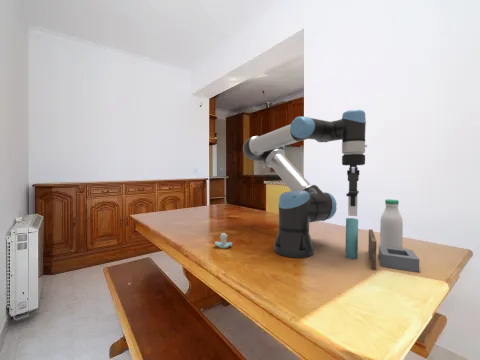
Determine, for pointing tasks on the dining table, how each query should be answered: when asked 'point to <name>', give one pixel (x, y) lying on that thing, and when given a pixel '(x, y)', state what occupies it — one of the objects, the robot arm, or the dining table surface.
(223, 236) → the pacifier
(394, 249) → the socket block
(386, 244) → the milk bottle
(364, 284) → the dining table surface
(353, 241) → the peg
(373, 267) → the wooden cutting board
